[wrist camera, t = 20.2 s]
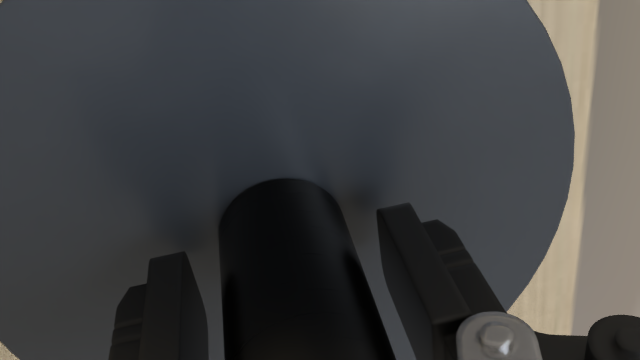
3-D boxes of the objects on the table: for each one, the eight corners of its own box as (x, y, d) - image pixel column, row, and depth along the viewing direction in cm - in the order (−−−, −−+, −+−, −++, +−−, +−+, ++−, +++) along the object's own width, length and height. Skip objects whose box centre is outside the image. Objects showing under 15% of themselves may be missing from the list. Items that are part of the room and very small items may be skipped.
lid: (-207, -44, 10) (-742, 139, 4) (580, -180, 12) (988, -179, 6) (86, 447, 18) (32, 748, 12) (535, 338, 20) (684, 567, 14)
